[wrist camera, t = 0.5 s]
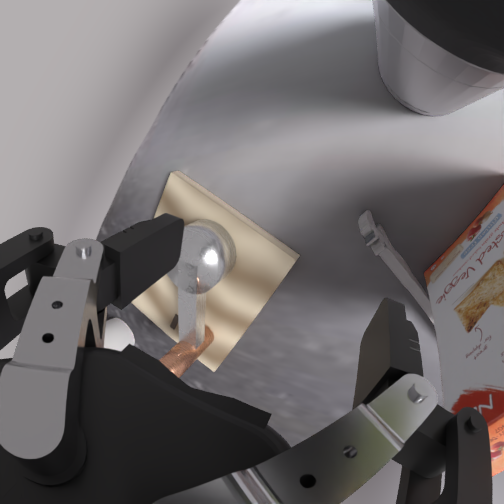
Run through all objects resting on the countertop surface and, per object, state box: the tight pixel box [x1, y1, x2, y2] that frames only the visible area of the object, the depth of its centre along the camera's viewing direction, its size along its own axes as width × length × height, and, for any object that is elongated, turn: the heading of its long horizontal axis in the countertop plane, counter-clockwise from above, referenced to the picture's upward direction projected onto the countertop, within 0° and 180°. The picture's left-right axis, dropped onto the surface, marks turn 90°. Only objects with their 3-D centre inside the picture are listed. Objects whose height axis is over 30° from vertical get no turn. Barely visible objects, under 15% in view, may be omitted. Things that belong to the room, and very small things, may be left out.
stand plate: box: [132, 171, 300, 372], centre depth 37 cm, size 22×17×2 cm
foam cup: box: [104, 318, 135, 351], centre depth 45 cm, size 10×9×13 cm
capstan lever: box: [159, 219, 237, 378], centre depth 30 cm, size 17×7×13 cm, turn 173°
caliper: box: [358, 210, 434, 324], centre depth 24 cm, size 20×1×6 cm, turn 46°
